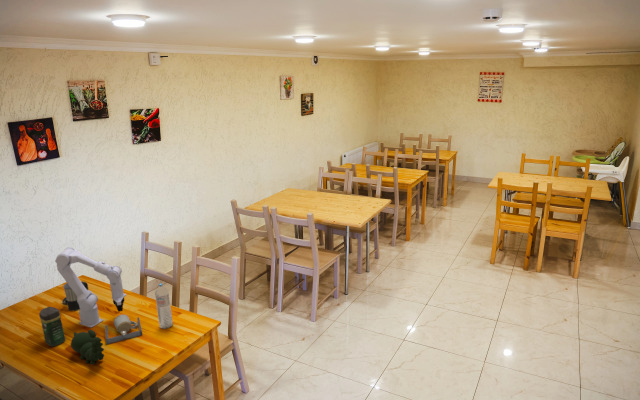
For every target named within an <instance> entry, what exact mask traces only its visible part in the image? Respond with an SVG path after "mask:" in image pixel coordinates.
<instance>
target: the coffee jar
mask: <svg viewBox="0 0 640 400" xmlns="http://www.w3.org/2000/svg"><path fill="white" fill-rule="evenodd" d="M61 317H62V316H61V312H60V310H59V309H58V308H56V307H53V306H48V307H45V308H42V309H41V310H39V320H40V323H41V327H42V332H43V338H44V343H46V344H47V345H48V346H49V347H55V346H60V345H61V344H62V343H64V342H65V341H66V336H65V331H64V328H63V323H62V318H61Z"/></svg>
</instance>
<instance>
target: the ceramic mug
mask: <svg viewBox="0 0 640 400" xmlns="http://www.w3.org/2000/svg"><path fill="white" fill-rule="evenodd" d="M113 325H114V327H115V328H116V331H117V332H118V333H119V334H121V331H123V330H126V334H128V333H130V331H131V329H132V330H135V329H137V327H138V322H136V321H133V320H130V317H129V316H128V315H127V314H118V316H116V317H115V318H114V320H113Z"/></svg>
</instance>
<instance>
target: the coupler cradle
mask: <svg viewBox="0 0 640 400" xmlns="http://www.w3.org/2000/svg"><path fill="white" fill-rule="evenodd" d="M136 319H137V327H138V329H139V330H137V331H132V332H127V333H126V330H123V331H121V333H120V334H121V335H120V334H119V335H117V336H113V337H109V330H108V325H107V324H106V325H104V329H105V330H104V333H105V334H104V335H105V343H106V345H111V344H113V343H117V342H121V341H124V340H130V339H132V338H136V337H141V336H143V330H142V325H141V321H140V316H139V317H138V316H137V317H136Z"/></svg>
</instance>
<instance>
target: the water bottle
mask: <svg viewBox="0 0 640 400" xmlns="http://www.w3.org/2000/svg"><path fill="white" fill-rule="evenodd" d="M154 296H155V302H156V311H157V318H158V324H159V328H160V329H163V330H165V329H166V330H167V329H169V328H172V326H173V324H174V322H173V316H172V315H173V314H172V308H171V302H170V301H171V300H170V294H169V289H168V288H167V287H166V286H164V285H163V283H162V282H160V283H159V284H158V287H157V288H156V289H155V291H154Z"/></svg>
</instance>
